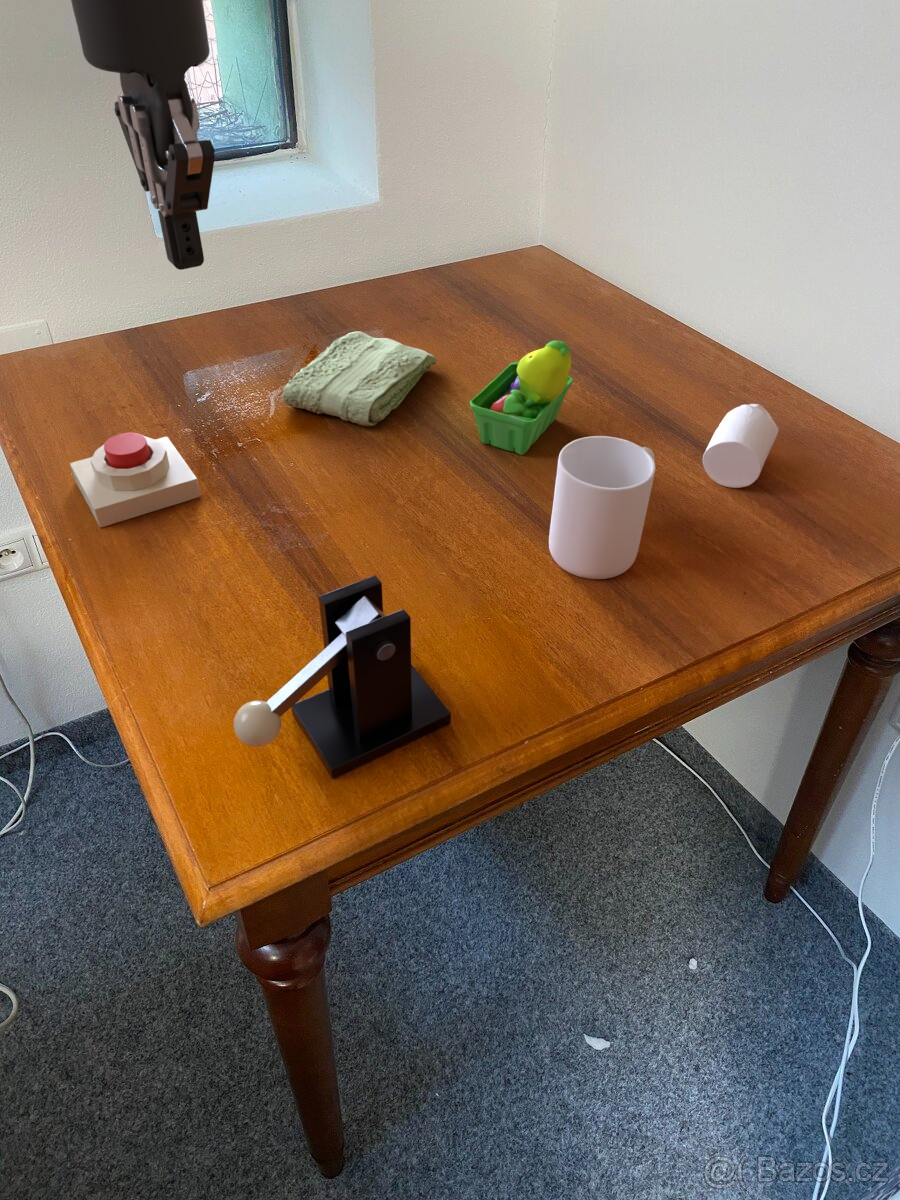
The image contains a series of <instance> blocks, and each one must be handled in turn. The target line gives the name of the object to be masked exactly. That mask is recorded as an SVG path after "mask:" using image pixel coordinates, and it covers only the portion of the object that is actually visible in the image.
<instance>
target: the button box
mask: <svg viewBox="0 0 900 1200" xmlns="http://www.w3.org/2000/svg"><path fill="white" fill-rule="evenodd" d="M143 436H144V435H143ZM144 437H145V438H146V440H147V444H148V448H149V452H150V459H149V461H147V462H146V463H144V464H143V465H140V466H137V467H133V468H130V469H116V468H113V467H111V466H110V465H109V463H108V460H107V457H106V453H105V450H104V444H103V445H102V446H100V447H98V448H96V449H95V451H94V453H93V455H92V456H91V457H87V458H83V459H80V460H77V461H76V460H75V461H72V462H70V463H69V466H70V470H71V473H72V475H73V479H74V481H75V483H76V485H77V487H78V489H79V491H80V493H81V495H82V497H83V498H84V500H85V502H86V504H87V506H88V508H89V510H90V511H91V513H92V515H93V517H94V519H95V521H96V523H97V525H98V526H99V528H101V529H102V528H104V527H107V526H111V525H114V524H117V523H120V522H124V521H127V520H131V519H133V518H136V517H140V516H143V515H145V514H149V513H153V512H156V511H159V510H162V509H165V508H168V507H172V506H175V505H179V504H181V503H185V502H188V501H190V500H195V499H197V498H201V496H202V495H201V490H200V485H199V481H198V478H197V476H196V475H195V473H194V472H193V470H191V468H190V466H189V465H188V464H187V463H186V461H185V460H184V458H183V457H182V455H181V454H180V453H179V451H178V450H177V449H176V447H175V445H174V443H172V441H171V440H170V438H169V437H168V436H163V437H160V438H156V439H154V438H151V437H148V436H144Z"/></svg>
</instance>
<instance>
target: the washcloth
mask: <svg viewBox="0 0 900 1200" xmlns="http://www.w3.org/2000/svg"><path fill="white" fill-rule="evenodd" d="M325 348H326V349H324V350H323V351H321V352H320V354H318V355H317V356H316V357H315V359H313V360H311V362H309V363H308V364H306V366H305V367H302V368H300V370H299V372H296V374H295V375H294V376H293V377H292V378H290V379H289V380H288V383H286V385H285V386H284V388H283V389H282V394H281V396H280V398H282V399H281V401H282V402H284V405H286V406H289V407H294V408H296V409H303V410H307V412H308V411H309V412H312V413H315V414H317V415H319V414H320V415H323V414H325V415H328V416H329V415H330V416H331V417H338V418H340V419H341V421H344V422H345V421H346V422H351V423H352V424H356V425H358V426H361V427H373V426H376V425H377V424H378V423H379V422H381V421H383V420H385V419H386V417H387V416H389V415H390V413H391V412H392V411H393V410H396V409H397V408H398V407H399V406H400V404H401V403H402V402H403V401H404V399H405V398H406V397H407V395H408V394H409V393H410V392H411V390H412V389H413V388H414V387H415V386H416V384H417V383H418V382H419V380H420V379H421V378H422V377H423V375H424V374H425V373H427V372H428V370H429V369H430V368H431V367H432V366H433V365H436V364H437V358H436V356H435V355H433V354H431V353H428V352H427V351H425V350H424V349H421V348H416V347H413V346H409V345H405V344H402V343H401V342H400V341H396V340H394V339H392V338H388V337H380V338H379V337H373V336H370V335H368V334H366V333H364V332H363V331H359V330H357V331H352V332H348V333H347V334H346V335H342V336H341V337H339V338H336V339H335V340H333V342H331V344H330V345H329V346H327V347H325Z"/></svg>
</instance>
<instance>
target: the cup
mask: <svg viewBox="0 0 900 1200" xmlns="http://www.w3.org/2000/svg"><path fill="white" fill-rule="evenodd" d="M655 473H656V462H655V454H654V451H653V450H652V449H651V448H649V447H647V446H640V445H638V444H637V443H634V442H632V441H629V440H627V439H624V438H620V437H616V436H607V435H591V436H585V437H581V438H577V439H574V440H572V441H571V442H569V443H567V444H566V445H565V446H563V447H562V449H561V450H560V452H559V455H558V459H557V468H556V474H555V475H556V476H555V485H554V492H553V501H552V508H551V517H550V525H549V533H548V534H549V535H548V549H549V553H550V555H551V558H552V559H553V560H554V562H555V563H556V564H557V565H558V566H559V567H560V569H562V570H564V571H565V572H567V573H569V574H571V575H573V576H575V577H579V578H583V579H588V580H589V579H590V580H607V579H612V578H615V577H618V576H620V575H622V574H624V573H625V572H627V571H628V570H629V569H630V568H631V567H632V566H633V564H634V563H635V561H636V558H637V556H638V552H639V548H640V545H641V539H642V534H643V530H644V526H645V521H646V516H647V511H648V507H649V503H650V496H651V493H652V488H653V483H654V479H655V475H656V474H655Z"/></svg>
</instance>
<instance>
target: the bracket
mask: <svg viewBox="0 0 900 1200" xmlns="http://www.w3.org/2000/svg"><path fill="white" fill-rule="evenodd" d="M363 596H366V597H367V598H368V599H369V600H370V601H372V602H373V603H374V604H375V605H376V606H377V607H378V608H379V609H380V610H381V611H382V612H383V613H384V603H383V583H382V582H381V580H380V579H379V578H378V576H377V575H376V574H375V575H374V574H373V575H372V576H369V577H366V578H364V579H361V580H359V581H355V582H353V583H350V584H348V585H345V586H343V587H340V588H337V589H334V590H332V591H329V592H327V593H324V594H321V595H319V596H318V603H319V614H320V623H321V630H322V631H321V632H322V639H323V650H324V649H325V648H326V647H327V646H328V645H329V644H330V643H331V642H333V641H334V640H335V639H336V638H337V637H338V636H339V635H340V634H341V633H342V632H341V630H340V629H339V628H338V626H337V625H336V624H335V622H336V621H337V620H338V619H339V618H340V617H341V616H342V615H343V614H344V613H345V612H347V611H348V610H349V609H350V608H351V607H352V606H353V605H354V604H355V603H356V602H358V601H359V600H360V599H361V598H362V597H363ZM411 619H412V617H411V616H410V614H408V612H407V611H406V610H405V609H404V608H402V609H400V610H397V611H394V612H391V613H390V614H387V615H385V616H384V617H382V618H380V619H377V620H375V621H372V622H370V623H367V624H365V625H362V626H360V627H357V628H355V629H352V630H350V631H347V632H346V642H347V654H348V656H347V657H346V658H345V659H343V660H342V661H341V662H340V663H339V664H338V665H337V666H336V667H335V668H334V669H332V670H331V671H330V672H329V673H328V674H327V675H326V676H327V683H328V684H327V685H328V688H327V689H325V690H323V691H320V692H318V693H316V694H314V695H311V696H308V697H307V698H304V699H302V700H299V701H297V702H296V703H295V704H294V705H293V706H292V707H291V708H290V709H291V714H292V717H293V718H294V720H295V722H296V723H297V725H298V726H299V728H300V730H301V731H302V733H303V735H304V736H305V737H306V740H307V741H308V742H309V744H310V746H311V747H312V749H313V750H314V751H315V753H316V755H317V756H318V758H319V760H320V761H321V763H322V764H323V766H324V768H325V769H326V770H327V772H328V774H329V776H330V777H331V778H332V779H333V780H334V779H337V778H339V777H341V776H343V775H345V774H347V773H349V772H352V771H353V770H356V769H358V768H360V767H362V766H364V765H366V764H368V763H370V762H372V761H374V760H376V759H379V758H381V757H383V756H385V755H387V754H390V753H391V752H393V751H396V750H398V749H400V748H402V747H404V746H406V745H408V744H410V743H412V742H414V741H416V740H419V739H421V738H423V737H425V736H427V735H429V734H431V733H433V732H436V731H437V730H440V729H441V728H443V727H447V726H448V725H451V723H452V713H451V711H450V710H449V709H448V708H447V707H446V705H445V704H444V703H443V702H442V700H441V699H440V698H439V697H438V696H437V694H436V693H435V692H434V690H433V689H432V688H431V687H430V685H429V684H428V683H427V682H426V680H425V679H424V678H423V677H422V676H421V674H420V673H419V671H418V670H417V668H415V666H414V665H413V664H412V625H411V624H412V623H411Z"/></svg>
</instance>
